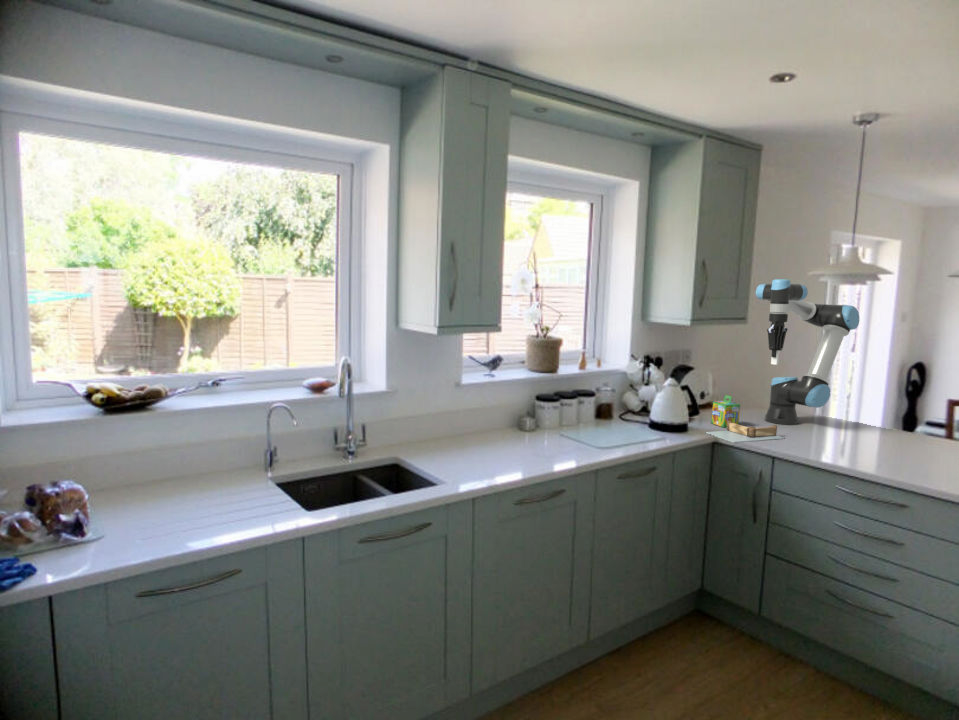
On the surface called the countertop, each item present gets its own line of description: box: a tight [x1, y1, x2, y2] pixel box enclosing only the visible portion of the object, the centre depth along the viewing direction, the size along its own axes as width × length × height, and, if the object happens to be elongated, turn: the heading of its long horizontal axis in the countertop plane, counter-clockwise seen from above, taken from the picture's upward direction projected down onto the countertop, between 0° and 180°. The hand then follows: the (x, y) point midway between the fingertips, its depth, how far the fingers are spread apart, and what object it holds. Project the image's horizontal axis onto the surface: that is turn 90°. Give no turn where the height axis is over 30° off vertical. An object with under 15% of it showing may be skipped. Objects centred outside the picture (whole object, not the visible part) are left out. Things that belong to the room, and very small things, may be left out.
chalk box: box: [710, 394, 741, 429], centre depth 287 cm, size 9×9×15 cm
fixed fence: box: [748, 424, 778, 438], centre depth 265 cm, size 2×15×5 cm, turn 108°
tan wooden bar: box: [726, 421, 750, 436], centre depth 270 cm, size 12×2×4 cm, turn 23°
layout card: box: [705, 430, 785, 444], centre depth 268 cm, size 18×28×1 cm, turn 108°
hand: (774, 364), depth 270 cm, fingers closed
